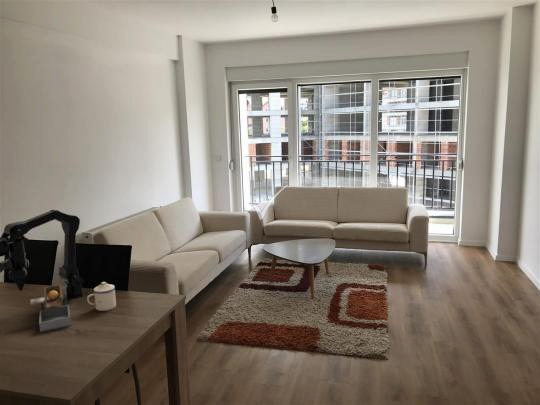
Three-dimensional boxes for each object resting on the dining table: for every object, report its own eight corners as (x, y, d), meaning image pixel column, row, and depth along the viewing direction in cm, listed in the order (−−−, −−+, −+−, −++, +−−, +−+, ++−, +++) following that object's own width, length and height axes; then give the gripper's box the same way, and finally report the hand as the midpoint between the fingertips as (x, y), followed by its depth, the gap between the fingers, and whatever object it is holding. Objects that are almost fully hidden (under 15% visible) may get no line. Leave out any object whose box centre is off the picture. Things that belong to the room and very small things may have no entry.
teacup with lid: (115, 301, 197) (112, 277, 195) (118, 308, 189) (115, 283, 187) (87, 307, 192) (84, 282, 190) (89, 314, 184) (86, 288, 182)
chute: (63, 296, 196) (62, 284, 195) (65, 310, 180) (63, 297, 179) (33, 302, 190) (31, 289, 189) (32, 316, 175) (30, 303, 174)
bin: (69, 313, 186) (68, 304, 185) (71, 325, 173) (70, 316, 173) (40, 318, 181) (39, 310, 180) (40, 332, 168) (39, 323, 168)
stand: (68, 307, 192) (67, 292, 191) (69, 311, 187) (67, 296, 186) (41, 312, 187) (39, 297, 186) (41, 317, 182) (39, 301, 181)
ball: (58, 297, 188) (57, 288, 187) (58, 300, 184) (57, 291, 184) (48, 298, 186) (47, 290, 185) (48, 301, 183) (47, 293, 182)
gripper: (-2, 250, 188) (3, 283, 190) (-9, 261, 171) (-3, 297, 174) (26, 246, 192) (31, 279, 195) (23, 256, 176) (28, 292, 178)
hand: (21, 286), depth 185 cm, fingers open, 9 cm apart
